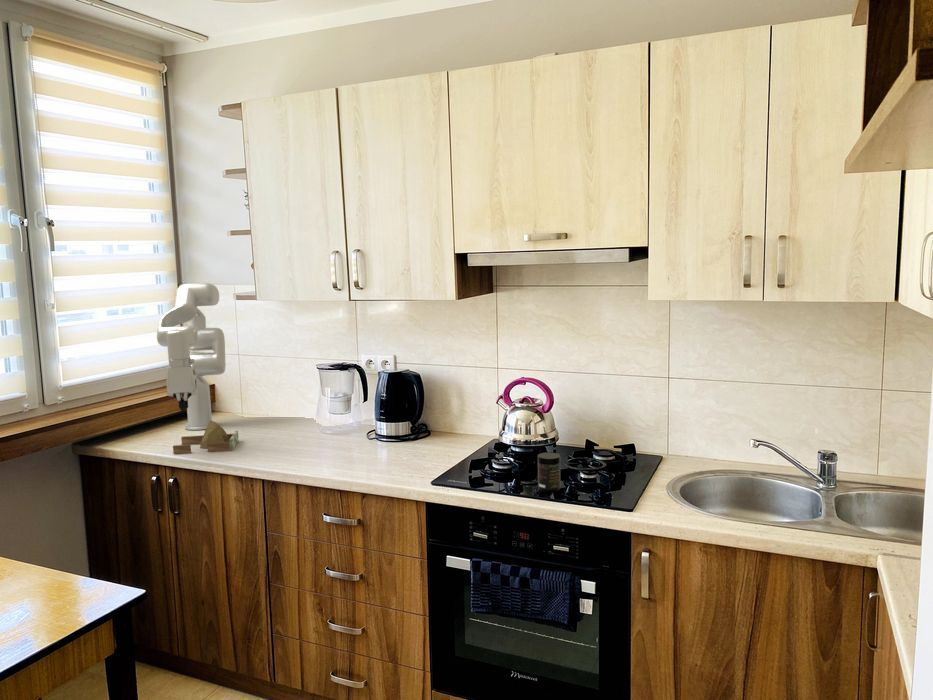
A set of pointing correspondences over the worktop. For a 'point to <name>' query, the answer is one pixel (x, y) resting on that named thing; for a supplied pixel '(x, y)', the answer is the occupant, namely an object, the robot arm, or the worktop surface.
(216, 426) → the rock
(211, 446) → the box
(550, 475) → the supplement container
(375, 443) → the worktop surface
